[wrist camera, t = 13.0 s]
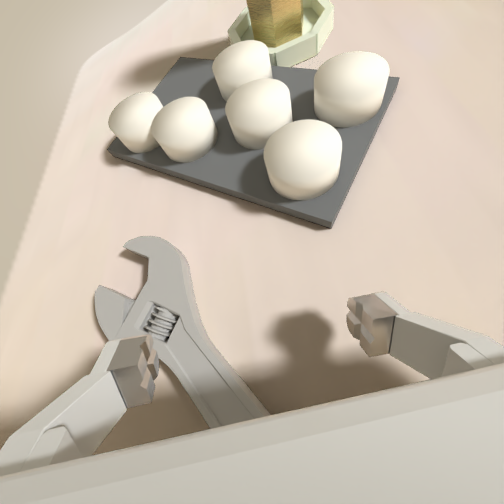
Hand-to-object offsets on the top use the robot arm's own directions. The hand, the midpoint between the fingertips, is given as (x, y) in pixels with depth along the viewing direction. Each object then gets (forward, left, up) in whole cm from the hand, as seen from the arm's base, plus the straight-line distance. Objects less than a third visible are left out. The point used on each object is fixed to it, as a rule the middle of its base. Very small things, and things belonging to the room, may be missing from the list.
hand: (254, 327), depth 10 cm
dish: (+11, -24, -4) cm, 26 cm away
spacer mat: (+9, -13, -4) cm, 17 cm away
